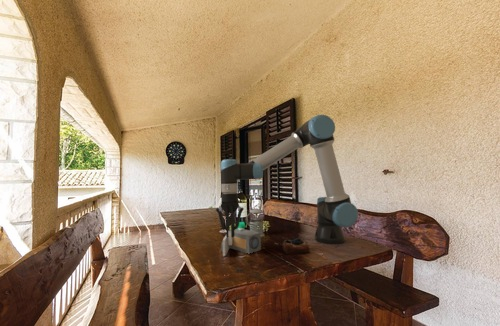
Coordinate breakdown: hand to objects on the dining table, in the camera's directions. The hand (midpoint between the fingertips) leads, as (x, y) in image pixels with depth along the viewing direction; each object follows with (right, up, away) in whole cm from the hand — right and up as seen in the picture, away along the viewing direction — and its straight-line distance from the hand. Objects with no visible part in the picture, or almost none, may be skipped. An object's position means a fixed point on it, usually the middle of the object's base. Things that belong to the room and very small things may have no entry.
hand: (230, 244), depth 111 cm
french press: (+12, -6, +33) cm, 35 cm away
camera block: (+6, -4, +6) cm, 10 cm away
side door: (-2, -4, +1) cm, 4 cm away
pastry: (+30, -4, +2) cm, 31 cm away
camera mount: (+6, -5, +21) cm, 22 cm away
